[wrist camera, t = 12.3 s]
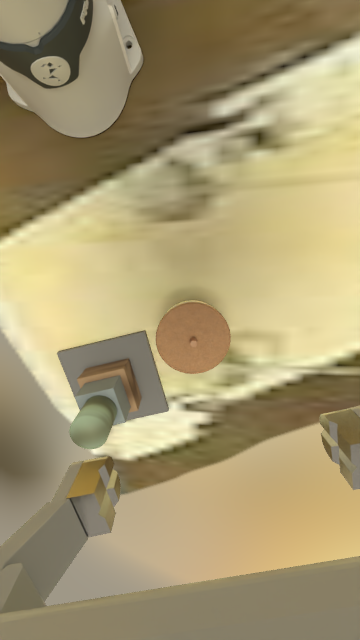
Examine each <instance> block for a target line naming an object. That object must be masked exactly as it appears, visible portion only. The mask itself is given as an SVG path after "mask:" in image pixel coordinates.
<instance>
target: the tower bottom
mask: <svg viewBox="0 0 360 640" xmlns="http://www.w3.org/2000/svg"><path fill="white" fill-rule="evenodd" d="M118 375H120V377H121V380H122V383H123V386H124V389H125V391H126V394H127V397H128V400H129V403H130V406H131V408H130V411H129V412H134V411H138V409H139V406H140V402H141V398H142V397H141V393H140V390H139V387H138V384H137V381H136V378H135V375H134V372H133V369H132V366H131V363H130V360H129V358H128V359H124V360H119V361H115V362H111V363H106V364H102V365H98V366H94V367H89V368H86V369H85V370H84V371H83V373H82V374H81V375H80V376H79V377H78V378H77V381H78V383H79V386H80V388H82V386H83V385H84V384H85V383H88V382H92V381H97V380H101V379H105V378H110V377H114V376H118Z"/></svg>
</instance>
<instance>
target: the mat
mask: <svg viewBox="0 0 360 640" xmlns="http://www.w3.org/2000/svg"><path fill="white" fill-rule="evenodd" d="M57 355H58V357H59V360H60V362H61V365H62V367H63V370H64V372H65V374H66V377H67V379H68V382H69V384H70V387H71V389H72V392H73V394H74V397H75V396H76V394H77V393H78V392H79V390H80V389H81V388H80V386H79V383H78V381H77V378H78V377H79V376H80V375H81V374H82V373H83V371H84V370H85V369H86V368H89V367H94V366H98V365H102V364H106V363H111V362H115V361H119V360H124V359H128V358H129V360H130V363H131V366H132V369H133V372H134V375H135V378H136V381H137V384H138V387H139V390H140V393H141V397H142V398H141V402H140V406H139V409H138V411H134V412H129V414H128V417H127V420H130V419H135V418H139V417H144V416H149V415H153V414H158V413H163V412H167V411H168V410H169V408H168V405H167V402H166V398H165V395H164V392H163V388H162V385H161V382H160V378H159V375H158V372H157V368H156V365H155V362H154V358H153V355H152V352H151V349H150V345H149V342H148V339H147V335H146V332H145V331H141V332H137V333H133V334H129V335H124V336H120V337H116V338H112V339H108V340H104V341H100V342H95V343H91V344H87V345H83V346H79V347H75V348H70V349H66V350H62V351H59V352H57ZM76 402H77V401H76ZM78 407H79V406H78Z"/></svg>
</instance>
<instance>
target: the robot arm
mask: <svg viewBox="0 0 360 640" xmlns="http://www.w3.org/2000/svg"><path fill="white" fill-rule="evenodd" d="M129 45H131V46H132V47H131V48H130V49H128V48H127V46H129ZM142 64H143V55H142V52H141V49H140V46H139V44H138V41H137V39H136V37H135V34H134V32H133V29H132V27H131V24H130V22H129V20H128V17H127V15H126V12H125V10H124V7H123V5H122V2H121V0H0V76H1V77H2V78H3V79H4V80H5V81H6V84H7V90H8V94H9V96H10V97H11V99H12V100H13V101H14V102H15V103H16V104H17V105H18V106H20V107H22V108H24V109H27V110H29V111H32V112H34V113H36V114H37V115H38V116H39V117H40V118H41V119H43V120H44V121H45V122H46V123H47V124H48V125H49V126H50V127H52V128H53V129H55V130H56V131H58V132H60V133H62V134H65V135H68V136H71V137H79V138H83V137H90V136H94V135H97V134H99V133H101V132H103V131H104V130H106V129H107V128H109V127H110V126H111V125H112V124H113V123H114V122H115V120H116V119H117V118H118V116H119V115H120V113H121V111H122V109H123V107H124V105H125V102H126V99H127V95H128V91H129V87H130V84H131V82H132V80H133V79H134V77H135V76H136V75H137V73H138V72H139V70H140V68H141V67H142ZM320 424H321V425H322V426H323V428H324V430H323V432H322V433H321V436H322V442H323V445H324V448H325V450H326V452H327V454H328V455H329V457H330V458H331V460H332V461H333V462H335V463H337V464H339V465H340V472H341V474H342V475H343V476H344V478H345V479H346V480H347V482H348V483H349V485H350V486H351V487H352V488H353V490H355V489H360V406H357V407H353V408H348V409H345V410H340V411H335V412H330V413H325V414H321V415H320ZM113 467H114V462H113V459H112V457H110V456H107V457H101V458H95V459H89V460H85V461H79V462H74V463H72V464H71V465H70V466H69V468H68V470H67V472H66V474H65V476H64V478H63V480H62V482H61V484H60V486H59V488H58V490H57V491H56V493H55V496H54V497H53V499H52V501H51V502H49V503H46V504H45V505H44V506H43V507H42V508H41V509H40V510H39V511H38V512H37V513H36V514H35V515H34V516H32V517H31V518H30V519H29V520H28V521H27V522H26V523H25V524H24V525H23V526H22V527H21V528H20V529H19V530H17V531H16V533H14V534H13V535H12V536H11V537H10V538H9V539H8V540H7V541H6V542H5V543H3V545H1V546H0V640H360V556H359V557H352V558H345V559H340V560H333V561H327V562H321V563H314V564H309V565H302V566H296V567H290V568H284V569H277V570H271V571H265V572H259V573H253V574H246V575H240V576H234V577H227V578H221V579H215V580H208V581H202V582H196V583H189V584H184V585H177V586H170V587H164V588H158V589H151V590H146V591H139V592H133V593H127V594H120V595H114V596H108V597H101V598H95V599H89V600H83V601H76V602H71V603H64V604H58V605H51V606H46V604H45V600H46V599H47V597H48V596H49V594H50V593H51V592H52V590H53V589H54V587H55V586H56V584H57V583H58V581H59V580H60V579H61V577H62V576H63V574H64V573H65V571H66V570H67V568H68V567H69V566H70V564H71V563H72V561H73V560H74V558H75V557H76V555H77V554H78V553H79V551H80V550H81V548H82V547H83V545H84V544H85V542H86V541H87V540H88V538H87V537H92V536H97V535H101V534H106V533H111V530H112V526H113V522H114V518H115V514H116V512H115V510H114V506H115V505H116V503H117V502H118V501H119V498H120V493H121V483H120V477H119V475H118V472H116V471H115V470H113Z"/></svg>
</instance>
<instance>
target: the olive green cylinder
mask: <svg viewBox="0 0 360 640" xmlns="http://www.w3.org/2000/svg"><path fill="white" fill-rule="evenodd" d="M116 415H117V407H116V404H115V403H114V402H113V401H112V400H111V399H110V398H108V397H106V396H102V395H96V396H92V397H90V398H89V399H88V400H87V401H86V402H85V404H84V405H83V407H82V409H81V410H80V412H79V413H78V415H77V416H76V418H75V419H74V421H73V422H72V424H71V426H70V430H69V433H70V437H71V439H72V440H73V442H74V443H75V444H77V445H78V446H80V447H82V448H85V449H95V448H98V447H100V446H102V445H103V444H104V443H105V442H106V440H107V438H108V435H109V433H110V430H111V428H112V425H113V423H114V420H115V418H116Z"/></svg>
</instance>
